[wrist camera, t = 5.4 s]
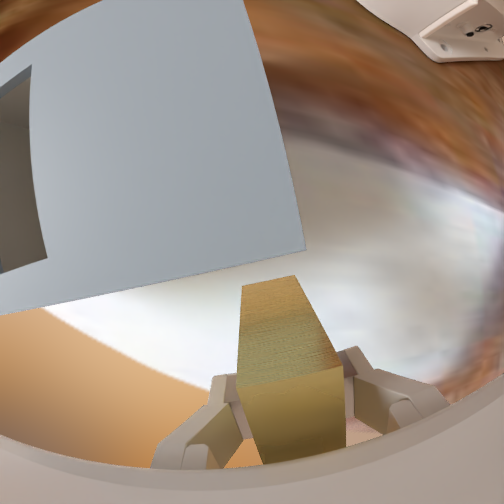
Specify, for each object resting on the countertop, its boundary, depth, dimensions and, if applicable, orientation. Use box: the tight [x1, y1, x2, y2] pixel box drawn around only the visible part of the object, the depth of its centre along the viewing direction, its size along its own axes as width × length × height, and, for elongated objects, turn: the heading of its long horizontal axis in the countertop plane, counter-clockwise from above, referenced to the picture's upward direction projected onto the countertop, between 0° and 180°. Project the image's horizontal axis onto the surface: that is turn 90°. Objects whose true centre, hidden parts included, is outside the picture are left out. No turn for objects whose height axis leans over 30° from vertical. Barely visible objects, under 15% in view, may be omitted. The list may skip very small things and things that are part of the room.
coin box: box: [0, 0, 306, 315], centre depth 13 cm, size 16×12×10 cm
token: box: [236, 275, 346, 465], centre depth 8 cm, size 2×6×6 cm, turn 12°
